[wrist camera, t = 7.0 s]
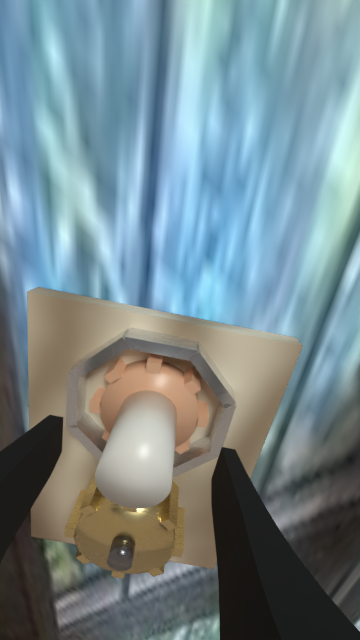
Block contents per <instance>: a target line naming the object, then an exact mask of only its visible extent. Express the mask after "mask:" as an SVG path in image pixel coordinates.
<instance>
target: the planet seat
mask: <svg viewBox="0 0 360 640" xmlns="http://www.w3.org/2000/svg"><path fill="white" fill-rule="evenodd" d="M126 349H131V350H136V351H142V352H147V353H152V354H157V355H162V356H167V357H173V358H178V359H183V360H188V361H191V362H192V363H193V365H194V366H195V367H196V369H197V370H198V372H199V373H200V374H201V376H202V377H203V378H204V380H205V381H206V382H207V384H208V385H209V386H210V388H211V389H212V390H213V392H214V393H215V395H216V396H217V397H218V399H219V402H218V406H217V409H216V413H215V416H214V419H213V423H212V426H211V430H210V433H209V435H207V436H205V437H203V438H201V439H199V440H196V441H194V442H192V443H190V449H189V450H187V451H185V452H184V453H182V454H179V453H178V452H177V451H174V462H173V474H172V478H173V477H176V476H178V475H180V474H182V473H184V472H187V471H189V470H191V469H193V468H195V467H198V466H200V465H202V464H204V463H206V462H209V461H211V460H213V459H215V458H217V457H219V456H218V455H219V454H220V451H221V448H222V447H223V445H224V442H225V439H226V436H227V433H228V430H229V427H230V424H231V421H232V418H233V415H234V412H235V409H236V401H235V396H234V392H233V389H232V387H231V386H230V384H229V383H228V382H227V380H226V379H225V377H224V376H223V375H222V373H221V372H220V370H219V369H218V368H217V366H216V365H215V363H214V362H213V360H212V359H211V358H210V356H209V355H208V353H207V352H206V351H205V349H204V348H203V346H202V345H201V344H200V342H197V340H195V339H189V338H184V337H179V336H174V335H169V334H164V333H159V332H154V331H148V330H143V329H138V328H133V327H131V328H130V329H129V328H127V329H125V330H124V331H122V332H121V333H119V334H118V335H116V336H114V337H113V338H111V339H110V340H108V341H107V342H105V343H104V344H102V345H101V346H99V347H97V348H96V349H94V350H93V351H91V352H90V353H88V354H87V355H85V356H84V357H82V358H80V359H79V360H78V361H77V362H76V364H75V365H74V366H73V367H72V368H71V370H70V371H69V373H68V380H67V402H66V424H65V426H66V427H67V428H66V429H67V430H68V431H69V432H70V433H71V434H72V435H73V436H74V437H75V438H76V439H77V440H78V441H79V442H80V443H81V444H82V445H83V446H84V447H85V448H86V449H87V450H88V451H89V452H90V453H91V454H92V455H93V456H94V457H95V458H96V459H97V460H98V461H100V458H101V456H102V453H103V451H104V448H105V446H106V443H107V442H106V441H105V440H104V439H103V438H102V435H103V433H104V431H103V430H102V429H101V427H100V426H99V425H98V424H97V423H96V422H95V421H94V420H93V419H92V418H91V417H90V416H89V415H88V414H87V413H86V412H85V405H86V392H87V379H88V373H89V372H91V371H92V370H94V369H96V368H97V367H99V366H100V365H102V364H104V363H105V362H107V361H108V360H110V359H112V358H113V357H115V356H116V355H118V354H120V353H121V352H123V351H124V350H126Z"/></svg>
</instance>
